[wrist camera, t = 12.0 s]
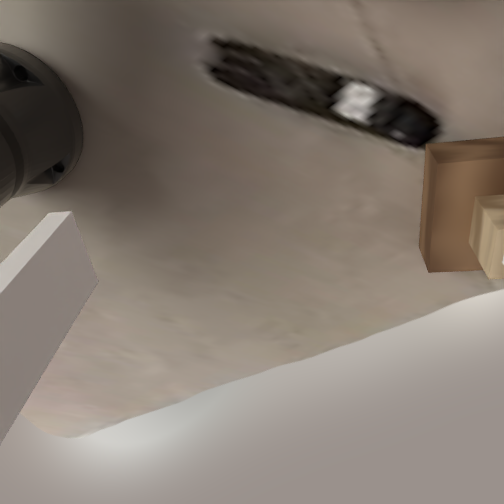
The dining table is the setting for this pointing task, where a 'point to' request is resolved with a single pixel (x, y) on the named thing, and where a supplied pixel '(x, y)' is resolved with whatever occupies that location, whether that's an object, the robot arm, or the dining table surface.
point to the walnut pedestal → (456, 199)
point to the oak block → (488, 234)
